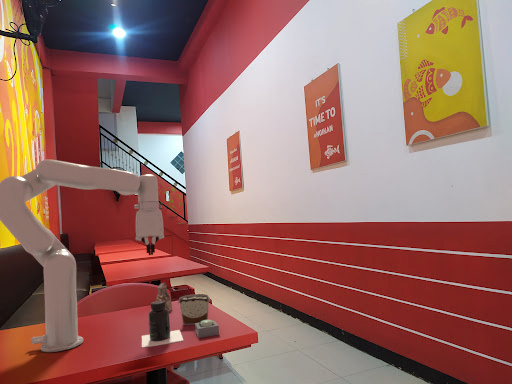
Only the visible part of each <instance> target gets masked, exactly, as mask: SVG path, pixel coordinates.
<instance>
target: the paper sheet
mask: <svg viewBox="0 0 512 384" xmlns="http://www.w3.org/2000/svg"><path fill="white" fill-rule="evenodd" d="M180 342H184V338H183V335H182V333H181V330H180V329H176V330H170V337H169V338H168V339H165V340H162V341H152V340H150V335H149V334H144V335H141V349H143V348H149V347H157V346H162V345H169V344H174V343H175V344H176V343H180Z"/></svg>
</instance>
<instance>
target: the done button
mask: <svg viewBox="0 0 512 384" xmlns="http://www.w3.org/2000/svg"><path fill="white" fill-rule="evenodd" d="M212 321H213V320H212V319H208V320H203V321H201V327H206V326H212Z"/></svg>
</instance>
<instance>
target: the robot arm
mask: <svg viewBox="0 0 512 384" xmlns="http://www.w3.org/2000/svg"><path fill="white" fill-rule="evenodd" d="M55 186H59V187H60V186H61V187H65V188H66V187H68V188H75V189H79V190H86V191H87V190H89V191H90V190H109V191H116V192H117V193H118V194H119V195H122V196H131V195H137V202H138V203H137V204H134V209H138V211H136V214H135V234H136V235H135V241H139V242H143V244H145V245H146V248H145V249H146V254H148V256H153V255H154V253H156V249H155V247H156V246H155V244H156V243H157V242H158V241H159V240H161V239H165V234H164V219H163V214H162V210H161V209H160V208H159V207H160V205H159V203H160V202H159V185H158V177H157V176H156V175H154V174H142V175H139V176H138V175H137V174H135V173H133V172H129V171H126V170H119V169H114V168H106V167H99V166H92V165H91V166H90V165H85V164H78V163H73V162H68V161H62V160H57V159H56V160H55V159H42V160H41V161H39V162H38V164H37V165H36V167H35V169H33V170H31V171H29V172H28V173H26V174H24V175H21V176H18V175H14V176H13V175H12V176H11V175H10V176H7V177H5V178H4V179H2V180H1V181H0V222H1V224H3V226H4V227H6V230H8V231H9V232H10V234H11V235H12V236H13V237H14V238H15V240H17V242H18V243H19V244H20V245H21V246H22V247H23V249H24V250H25V252H27V253H28V254H30V255H31V256H33V258H34V259H35V260H36V261H37V262H38V263H39V264H40V265H41V266H42V267H43V282H44V283H43V284H44V285H43V286H44V290H43V291H44V310H45V311H44V314H45V315H44V316H45V318H44V319H45V334H43V335H42V336H32V337H31V340H30V341H31V342H30V343H31V344H33V345H38V344H41V345H40V351H41V352H43V353H55V352H56V353H57V352H61V351H66V350H67V351H68V350H70V349H73V348H76V347H78V346H79V345H82V343H83V342H84V337H82V336H80V335H79V329H78V326H79V325H78V322H79V321H78V298H77V262H76V258H75V257H74V254H72V253H71V252H70V251H69V250H68V248H67V247H66V246H65V245H64V244H63V243H62V242H61V241H60V240H59V239H58V237H57V236H56V235H55V234H54V233H53V232H52V231H51V230H50V229H49V228H47V227H46V226H45V225H44V224H42V222H41V221H40V220H39V219H38V218H37V217H36V216H35V214H34V213H33V212H32V211H31V209H29V207H28V206H27V204H26V203H27V202H28V201H30V200H32V199H34V198H35V197H37V196H39V195H41V194H43V193H45V192H46V191H48V190H49V189H51V188H53V187H55ZM149 237H151V243H150V242H149V241H150V240H149Z"/></svg>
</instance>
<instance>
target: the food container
mask: <svg viewBox="0 0 512 384" xmlns="http://www.w3.org/2000/svg"><path fill="white" fill-rule="evenodd" d="M210 302H211V299H210V295H208V294H204V293H195V294H193V293H192V294H187V295H183V296H180V297H179V299H178V303H177V304H179V305H180V313H181V320H182V325H187V326H188V325H195V323H200V322H201V321H203V320H209V303H210Z"/></svg>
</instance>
